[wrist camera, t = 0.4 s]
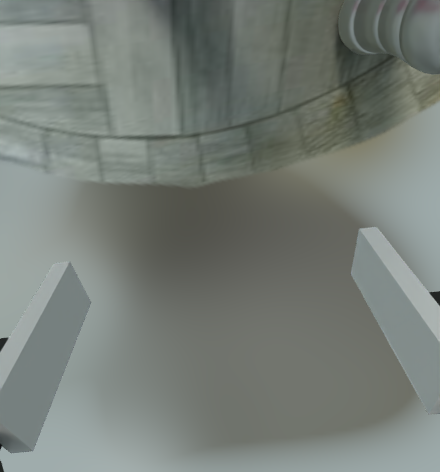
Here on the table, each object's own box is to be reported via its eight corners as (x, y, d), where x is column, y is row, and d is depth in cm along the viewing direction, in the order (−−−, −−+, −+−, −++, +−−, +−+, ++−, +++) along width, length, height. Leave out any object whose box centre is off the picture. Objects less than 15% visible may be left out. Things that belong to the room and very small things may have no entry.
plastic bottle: (410, 7, 32) (627, 0, 15) (356, 66, 35) (490, 114, 18) (372, -46, 29) (582, -120, 13) (317, 23, 32) (432, 33, 16)
